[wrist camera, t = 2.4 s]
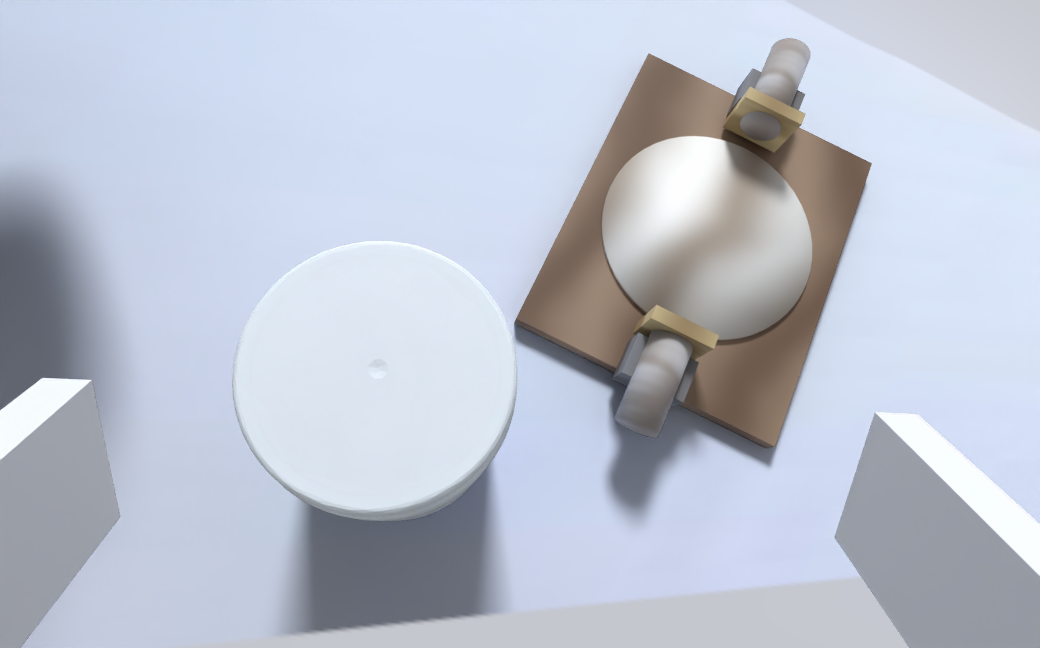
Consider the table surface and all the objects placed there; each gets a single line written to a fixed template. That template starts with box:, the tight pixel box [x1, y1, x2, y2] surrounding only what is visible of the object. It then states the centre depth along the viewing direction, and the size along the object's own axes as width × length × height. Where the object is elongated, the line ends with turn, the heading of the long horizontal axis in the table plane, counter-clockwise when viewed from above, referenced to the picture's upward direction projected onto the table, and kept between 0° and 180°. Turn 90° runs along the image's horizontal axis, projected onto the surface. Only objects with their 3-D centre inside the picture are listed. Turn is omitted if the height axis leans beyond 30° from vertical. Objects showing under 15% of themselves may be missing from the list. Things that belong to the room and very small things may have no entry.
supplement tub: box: [232, 241, 517, 521], centre depth 29 cm, size 10×10×15 cm
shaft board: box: [515, 38, 872, 448], centre depth 39 cm, size 16×26×5 cm, turn 155°
